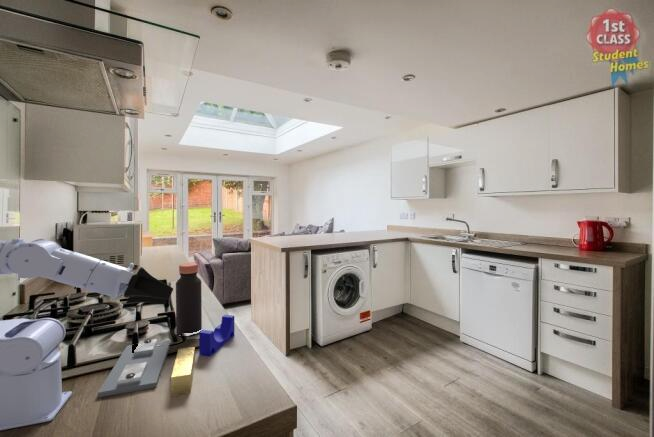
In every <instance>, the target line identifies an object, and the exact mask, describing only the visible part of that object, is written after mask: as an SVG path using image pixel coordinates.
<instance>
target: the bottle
mask: <svg viewBox="0 0 654 437" xmlns="http://www.w3.org/2000/svg"><path fill="white" fill-rule="evenodd" d="M198 266H199V265H198V263H195V262H187V263H185V262H184V263H180V264H179V266H178V269H179V270H178V273H179V276H180V278H179V279H177V281H176V282H175V326H176V328H175V332H176V333H177V334H176V335H177V336H178V335H181V334H182V333H193V332H197V331H199V330H201V329H202V330H203V328H202V327H203V324H202V323H203V321H202V320H203V319H202V318H203V317H202V313H203V312H202V307H203V305H202V304H203V303H202V279H201V278H200V277H199V276H198V272H199V271H198V270H199V267H198ZM202 330H201V331H202Z"/></svg>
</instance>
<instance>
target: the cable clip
mask: <svg viewBox="0 0 654 437" xmlns="http://www.w3.org/2000/svg"><path fill="white" fill-rule="evenodd" d="M234 337H235V315H232V314H231V315H230V314H224V315H222V317H221V324H219V325H217V326H216V327H215V328H214V330H205V329H202V330H201V331H200V332H199V333H198V345H199V346H198V350H199V351H198V353H199V354H198V356H203V357H211V356H213V355H214V354H215V353H216V352H217V351H218V350H219V349H220V348H221V347H223V346H224V345H225V344H227V342H229V341H230V340H231V339H232V338H234Z"/></svg>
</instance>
